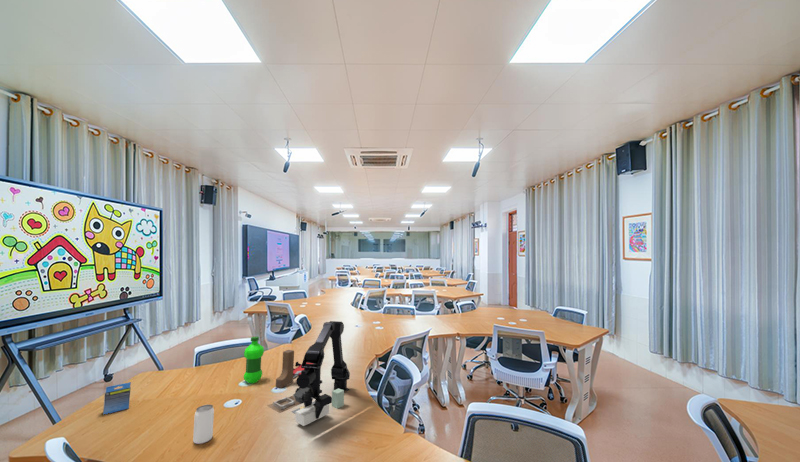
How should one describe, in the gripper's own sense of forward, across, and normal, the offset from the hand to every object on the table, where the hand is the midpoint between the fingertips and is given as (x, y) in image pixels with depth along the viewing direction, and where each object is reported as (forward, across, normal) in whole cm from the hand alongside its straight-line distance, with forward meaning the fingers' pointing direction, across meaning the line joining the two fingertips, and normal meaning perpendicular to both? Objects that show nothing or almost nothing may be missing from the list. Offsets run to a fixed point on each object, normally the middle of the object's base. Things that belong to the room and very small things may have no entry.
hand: (312, 416), depth 134 cm
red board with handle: (+4, -57, +33) cm, 66 cm away
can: (+3, -24, -34) cm, 42 cm away
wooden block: (+3, -46, +15) cm, 48 cm away
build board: (+3, -23, +6) cm, 24 cm away
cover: (0, 0, 0) cm, 1 cm away
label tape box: (+3, -81, -50) cm, 95 cm away
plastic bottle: (+3, -64, +6) cm, 64 cm away
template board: (+3, -10, +6) cm, 12 cm away
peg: (+3, -2, +16) cm, 16 cm away
